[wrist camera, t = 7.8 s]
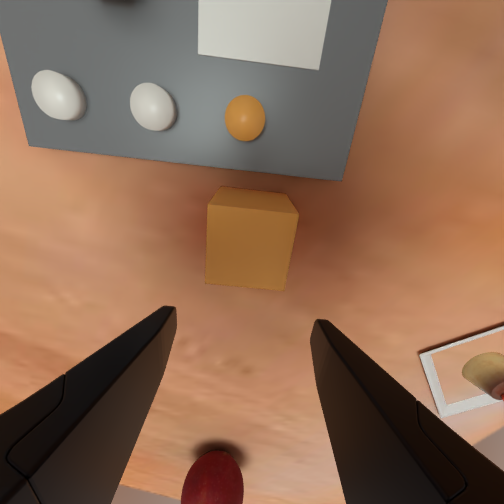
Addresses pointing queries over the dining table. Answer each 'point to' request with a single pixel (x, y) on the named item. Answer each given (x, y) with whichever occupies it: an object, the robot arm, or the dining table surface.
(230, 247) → the mustard yellow cube
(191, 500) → the apple
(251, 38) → the breaker panel
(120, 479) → the robot arm
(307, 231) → the dining table surface
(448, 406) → the dessert
